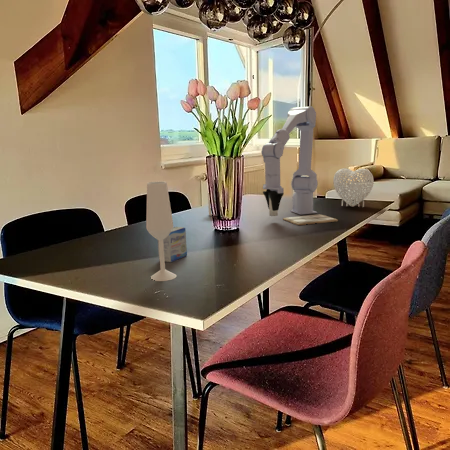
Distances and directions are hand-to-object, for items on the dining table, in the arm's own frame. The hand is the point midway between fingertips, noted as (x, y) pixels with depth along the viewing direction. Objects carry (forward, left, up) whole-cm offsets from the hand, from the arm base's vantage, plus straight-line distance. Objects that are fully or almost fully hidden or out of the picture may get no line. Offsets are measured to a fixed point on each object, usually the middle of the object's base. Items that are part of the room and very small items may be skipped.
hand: (273, 209), depth 175 cm
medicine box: (+33, -47, -5) cm, 58 cm away
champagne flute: (+49, -53, -5) cm, 72 cm away
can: (-27, -15, -5) cm, 31 cm away
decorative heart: (-15, +46, -5) cm, 49 cm away
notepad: (+4, +14, -5) cm, 15 cm away
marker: (0, 0, -2) cm, 2 cm away
